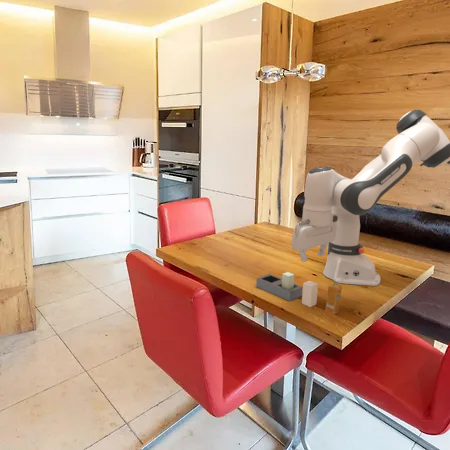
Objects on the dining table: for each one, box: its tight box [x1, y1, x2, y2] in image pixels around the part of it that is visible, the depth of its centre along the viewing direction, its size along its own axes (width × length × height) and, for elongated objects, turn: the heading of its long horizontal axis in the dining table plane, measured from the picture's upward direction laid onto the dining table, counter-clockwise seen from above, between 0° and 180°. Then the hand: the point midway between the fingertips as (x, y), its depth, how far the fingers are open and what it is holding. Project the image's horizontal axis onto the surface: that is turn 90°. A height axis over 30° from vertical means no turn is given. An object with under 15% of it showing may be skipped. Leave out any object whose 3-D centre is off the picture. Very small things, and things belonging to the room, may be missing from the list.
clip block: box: [301, 280, 319, 308], centre depth 129 cm, size 4×4×8 cm
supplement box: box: [324, 282, 343, 316], centre depth 123 cm, size 3×3×10 cm
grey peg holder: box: [255, 273, 303, 302], centre depth 139 cm, size 16×7×4 cm, turn 41°
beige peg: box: [281, 271, 295, 290], centre depth 135 cm, size 3×3×8 cm
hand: (312, 258), depth 126 cm, fingers open, 8 cm apart
